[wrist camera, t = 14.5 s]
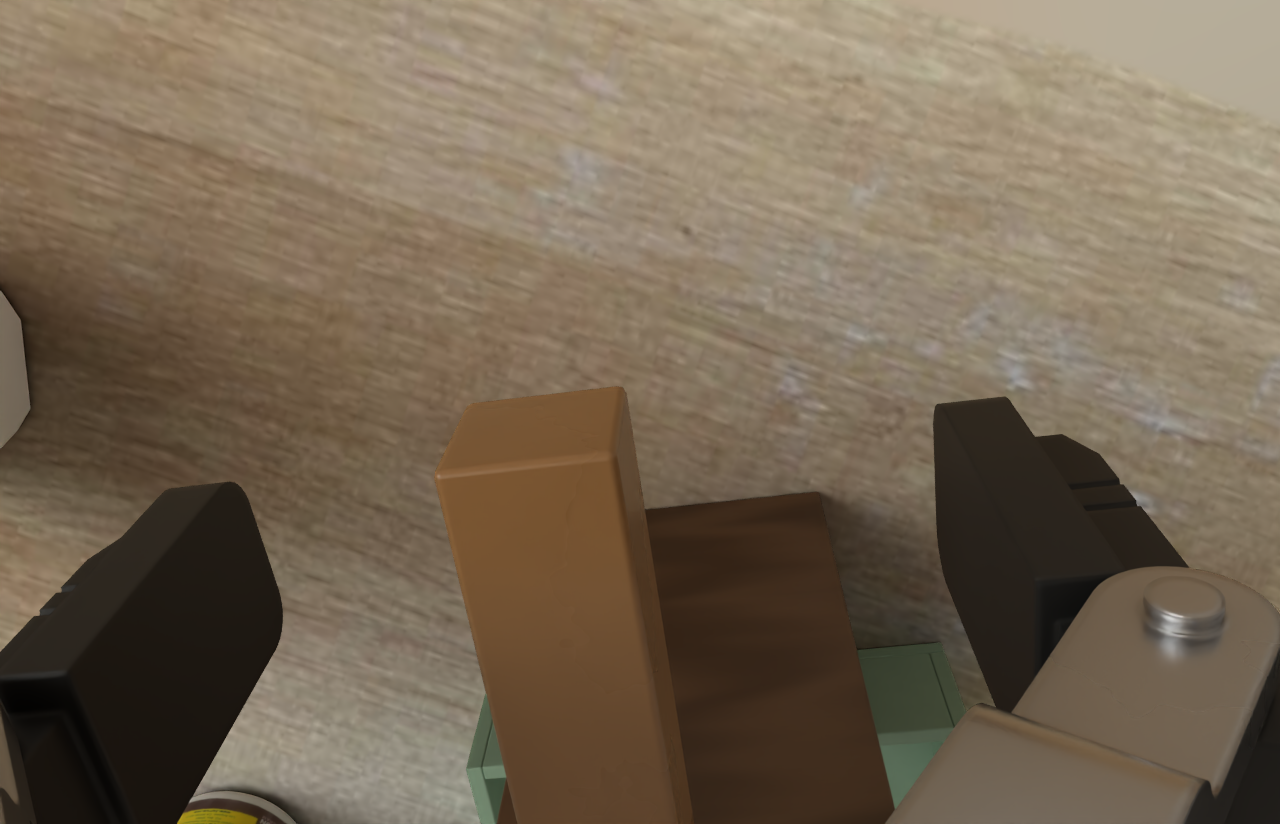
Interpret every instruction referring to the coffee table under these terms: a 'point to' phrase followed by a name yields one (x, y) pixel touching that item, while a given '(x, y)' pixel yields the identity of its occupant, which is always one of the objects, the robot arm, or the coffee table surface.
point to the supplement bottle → (232, 810)
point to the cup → (11, 373)
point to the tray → (899, 698)
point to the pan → (565, 607)
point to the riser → (763, 667)
